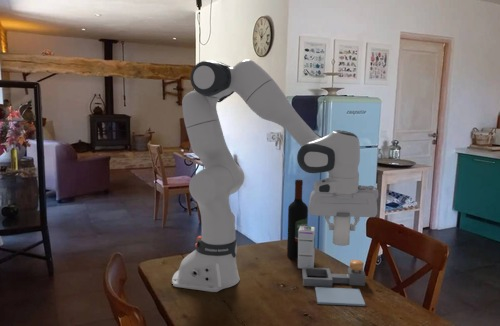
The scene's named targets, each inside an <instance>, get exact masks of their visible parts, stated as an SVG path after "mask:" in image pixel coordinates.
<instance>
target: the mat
mask: <svg viewBox="0 0 500 326" xmlns="http://www.w3.org/2000/svg"><path fill="white" fill-rule="evenodd" d="M314 290H315V297H316V302H317V304H318V305H332V306H333V305H334V306H353V307H354V306H356V307H366V302H365V300H364V298H363V294H362V293H361V289H360V288H343V287H317V286H314Z"/></svg>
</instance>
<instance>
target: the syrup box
mask: <svg viewBox="0 0 500 326" xmlns="http://www.w3.org/2000/svg"><path fill="white" fill-rule="evenodd" d="M315 231H316V227H315V226H311V225H307V226H300V227H299V230H298V259H297V268H298V269H301V270H302V267H309V268H315V267H314V266H315V247H316V246H315V245H316V241H315V239H316V238H315V237H316V235H315V233H316V232H315Z"/></svg>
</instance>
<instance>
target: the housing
mask: <svg viewBox="0 0 500 326" xmlns="http://www.w3.org/2000/svg"><path fill="white" fill-rule="evenodd" d="M330 269H331V268H329V267H328V268H326V267H314V268H309V267H302V269H301V278H302V286H303V287H305V286H306V287H324V288H333V284H346V285H347V284H348V285H349V286H363V287H364V286H365V285H366V284H365V283H366V272H365V269H363V270H360V271H359V272H354V270H352V269H350V267H347V272H346V273H331V270H330ZM308 276H309V277H308Z"/></svg>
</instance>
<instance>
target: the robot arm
mask: <svg viewBox="0 0 500 326" xmlns="http://www.w3.org/2000/svg"><path fill="white" fill-rule="evenodd" d="M189 79H190V83H191V86H192V88H193V89H194V90H192V91H191V90H190V91H189V92H188V93H186V94H185V95H184V96H183V97H182V101H181V104H182V105H181V106H182V115H183V121H184V126H185V129H186V133H187V137H188V140H189V141H188V142H189V144H190V147H191V151H192V152H193V154H194V155H195V156H197V158H198V159H199V160H200V162H201V163H202V165H203V167H204V168H203V169H201V170H199V171H198V172H197V173H196V174H194V175H193V176H192V177H191V179H190V181H189V183H188V185H189V186H188V191H189V193H190V196H191V197H192V198H193V200H194V201H195V202H196V203H197V207H198V208H199V209H198V210H199V215H200V219H201V222H200V223H201V235H198V236H197V237H196V241H195V249H194V250H193V251H192V252H191V253H188V254H187V255H186V256H185V257H184V258H183V259H182V260H181V262H180V264H179V268H178V270H176V271H175V272H174V274H173V275H172V278H171V284H173V285H172V286H173V287H175V288H183V289H187V290H188V289H190V290H198V291H204V292H209V293H218V292H219V291H221V290H224V289H228V288H231V287H233V286H236V285H237V284H238V283H239V282H240V276H239V270H238V266H237V258H236V256H237V253H238V252H237V250H238V247H237V244H238V243H237V238H236V216H235V214H234V213H233V212H232V210H231V206H230V201H229V198H230V196H231V195H233V194H235V193H237V192H238V190H240V188H241V187H242V186H243V184H244V182H245V173H244V170H243V168H242V167H241V166H239V165H238V164H237V163H236V160H235V159H234V157H233V155H232V154H231V151H230V150H229V147H228V145H227V142H226V139H225V136H224V132H223V129H222V125H221V122H220V121H221V120H220V117H219V114H218V110H217V104H218V103H221V102H223V101H224V100H226V99H227V98H228V97H231V95H233V94H234V93H235V94H237V95H239V97H240V98H241V99H242V100H243V101H244V102H245V104H246V106H247V107H248V108H250V110H251V111H252V112H253V113H255V114H256V115H257V116H258V117H259V118H261V119H263V120H266V121H269V122H272V123H274V124H277V125H278V126H281V127H282V128H283V129H284V130H286V132H287V133H288V134H289V135H290V136H291V137H292V139H294V140H295V141H296V143H297V144H298V145H299V146H300V148H299V150H298V152H297V154H296V161H297V164H298V167H300V169H301V170H303V172H305V173H308V174H319V173H320V174H321V173H325V172H327V173H328V177H327V178H324V179H320V180H317V181H314V182H313V186H312V189H313V190H312V191H311V192H310V195H309V199H308V206H307V207H308V214H309V215H310V216H314V217H322V216H323V217H324V218H325V221H326V222H327V227H328V228H327V229H328V231H333V230H334V228H333V227H334V224H333V222H331V221H330V220H331V217H334V216H336V214H337V213H350V217H351V218H353V219H354V220H353V222H352V223H350V232H354V231H356V226H357V225H358V223H359V222H360V219H361V218H375V217H376V216H377V215H378V202H377V200H378V199H379V189H378V188H377V187H375V186H373V185H359V184H360V183H359V181H360V179H359V178H360V174H359V165H360V160H361V150H360V149H361V147H360V139H359V137H358V136H357V135H356V134H355V133H354V132H351V131H346V130H341V129H339V130H338V129H337V130H333V131H332V132H330V133H329V134H327V135H325V136H321V135H320V134H317V133H316V131H314V130H313V129H312V128H311V126H310V125H308V123H307V122H306V121H305V120H304V119H303V118H302V117H301V115H299V113H298V112H297V111H296V110H295V108H294V107H293V105H292V104H291V102H290V101H289V99H288V98H287V97H286V95H285V93H284V92H283V90H282V89H281V87H280V86H279V85H278V84H277V82H276V81H275V80H274V79H273V77H272V76H271V75H270V74H269V73H268V72H267V71H266V70H265V69H264V68H262V66H260V65H259V64H258V63H256V62H255V61H253V60H252V59H244V60H241V61H239V62H238V63H236V64H235V65H234V66H233V67H232V66H230V65H227V64H226V63H223V62H221V61H215V60H209V59H207V60H203V61H200V62H198V63H196V64H195V65H194V66H193V67H192V70H191V72H190V77H189Z"/></svg>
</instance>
